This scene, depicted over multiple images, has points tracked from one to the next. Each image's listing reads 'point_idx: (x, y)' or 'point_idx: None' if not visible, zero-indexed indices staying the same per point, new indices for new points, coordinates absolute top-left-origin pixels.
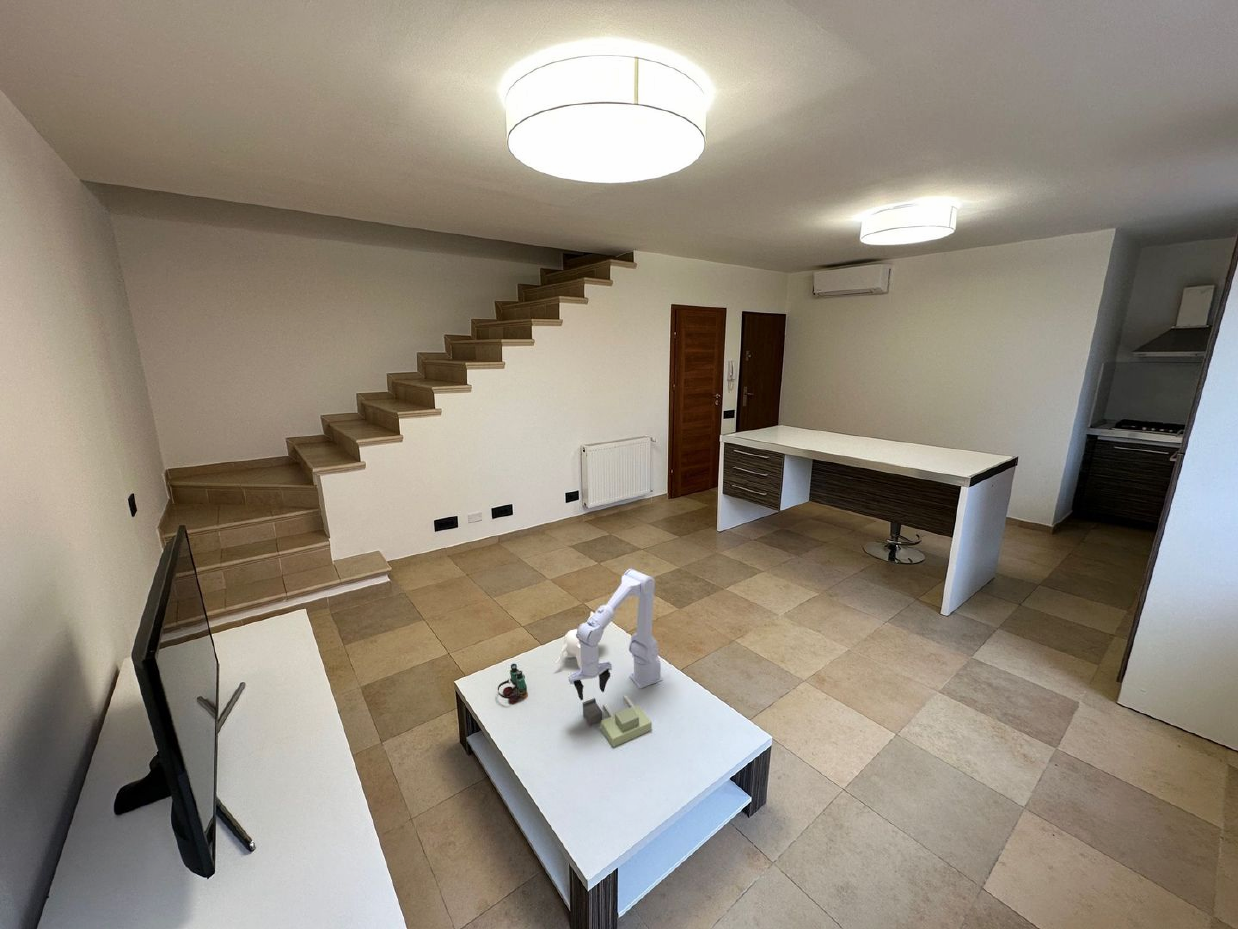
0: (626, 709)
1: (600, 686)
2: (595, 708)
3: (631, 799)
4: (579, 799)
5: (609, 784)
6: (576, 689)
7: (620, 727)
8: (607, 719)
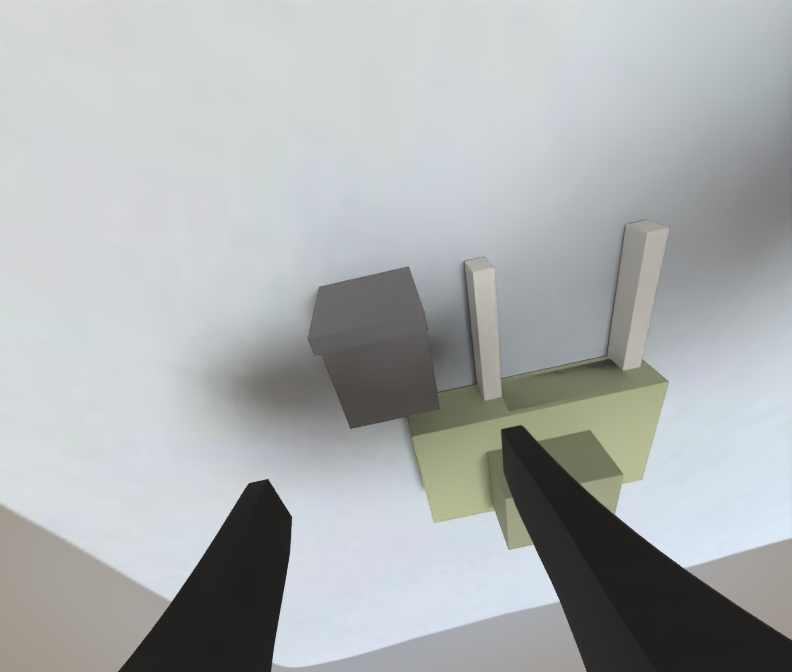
0: (585, 485)
1: (519, 480)
2: (403, 375)
3: (421, 598)
4: None
5: (373, 571)
6: (186, 588)
7: (494, 498)
8: (451, 436)
